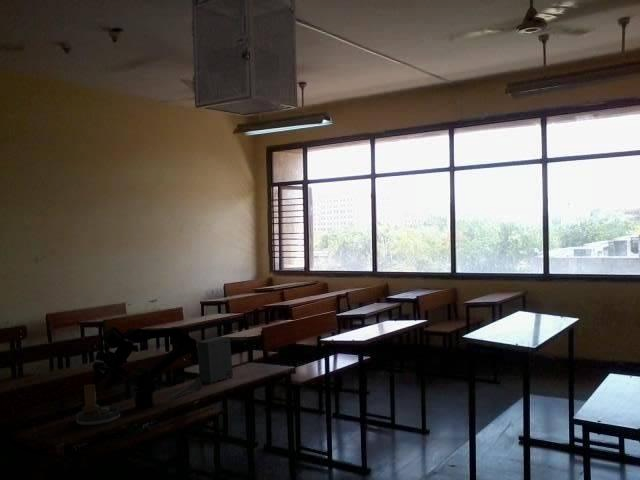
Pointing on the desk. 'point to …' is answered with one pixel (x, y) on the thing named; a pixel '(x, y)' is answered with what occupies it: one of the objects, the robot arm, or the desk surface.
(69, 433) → the desk surface
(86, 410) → the brown waisted peg
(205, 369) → the hard drive box
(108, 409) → the carrier plate
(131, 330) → the robot arm
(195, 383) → the caliper
